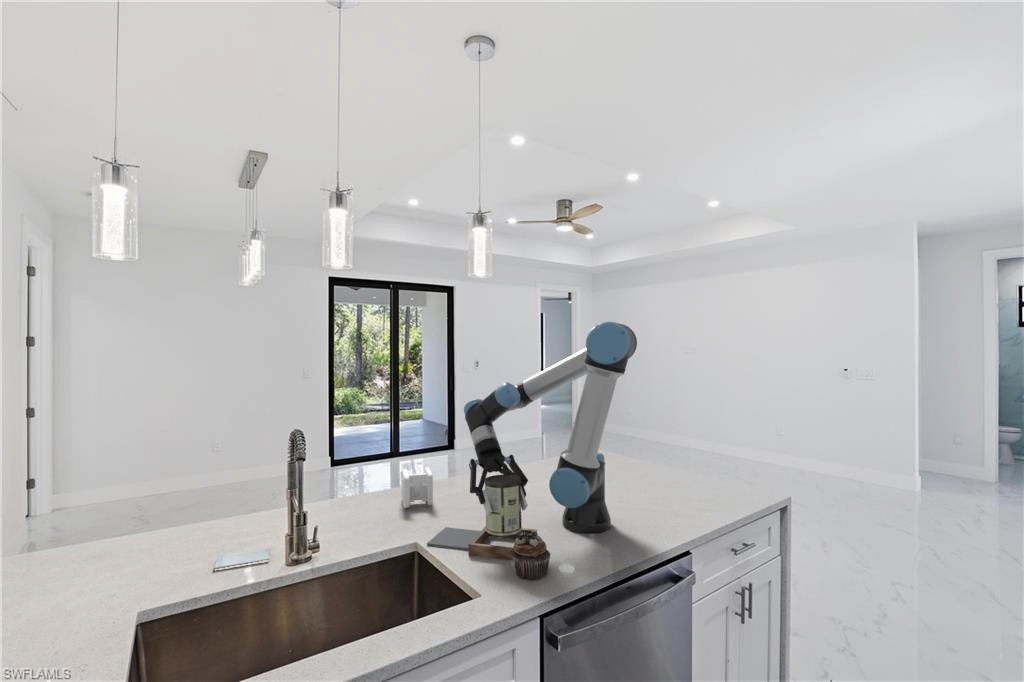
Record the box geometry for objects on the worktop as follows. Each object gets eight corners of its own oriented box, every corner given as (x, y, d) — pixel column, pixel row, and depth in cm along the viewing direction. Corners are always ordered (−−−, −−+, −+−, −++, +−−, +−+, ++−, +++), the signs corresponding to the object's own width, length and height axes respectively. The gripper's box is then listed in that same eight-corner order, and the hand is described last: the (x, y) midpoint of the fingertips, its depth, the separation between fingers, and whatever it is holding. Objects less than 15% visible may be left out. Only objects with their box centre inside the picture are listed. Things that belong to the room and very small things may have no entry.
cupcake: (548, 583, 114) (548, 541, 115) (508, 580, 116) (508, 538, 116) (552, 566, 124) (552, 526, 124) (515, 563, 126) (515, 524, 126)
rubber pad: (485, 533, 146) (485, 531, 146) (469, 550, 134) (469, 548, 134) (445, 529, 150) (445, 527, 150) (427, 545, 137) (427, 543, 137)
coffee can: (498, 520, 143) (497, 472, 143) (528, 526, 137) (527, 477, 138) (477, 531, 134) (477, 480, 135) (508, 538, 129) (508, 485, 129)
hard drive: (270, 547, 134) (218, 554, 129) (269, 558, 126) (213, 567, 121) (270, 553, 134) (218, 560, 129) (269, 565, 126) (213, 573, 121)
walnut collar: (536, 540, 141) (536, 529, 141) (523, 562, 126) (523, 550, 126) (487, 534, 145) (486, 524, 145) (468, 555, 130) (468, 544, 130)
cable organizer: (433, 508, 169) (433, 475, 169) (402, 511, 166) (402, 477, 167) (428, 496, 184) (428, 465, 184) (400, 498, 181) (400, 467, 181)
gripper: (516, 447, 155) (539, 511, 140) (448, 454, 146) (465, 524, 131) (523, 433, 150) (548, 498, 135) (453, 440, 141) (471, 509, 126)
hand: (507, 510), depth 133 cm, fingers closed on coffee can, 10 cm apart
